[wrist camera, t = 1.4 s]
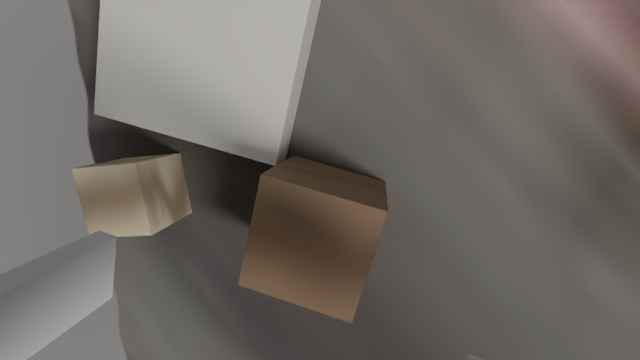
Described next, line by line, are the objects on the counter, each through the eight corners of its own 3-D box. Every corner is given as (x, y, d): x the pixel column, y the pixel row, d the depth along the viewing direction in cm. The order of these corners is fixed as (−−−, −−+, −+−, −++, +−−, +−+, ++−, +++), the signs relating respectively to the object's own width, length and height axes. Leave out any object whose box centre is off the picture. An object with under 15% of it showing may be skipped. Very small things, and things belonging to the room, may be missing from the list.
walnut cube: (359, 264, 25) (351, 323, 18) (274, 238, 26) (238, 285, 19) (385, 181, 23) (387, 211, 16) (293, 155, 24) (260, 174, 17)
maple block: (192, 212, 26) (151, 235, 22) (140, 214, 27) (89, 237, 23) (181, 152, 25) (135, 163, 21) (127, 157, 26) (71, 168, 22)
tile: (285, 160, 24) (275, 166, 21) (120, 113, 25) (94, 113, 23) (332, -50, 20) (325, -70, 18) (136, -89, 22) (106, -113, 19)
